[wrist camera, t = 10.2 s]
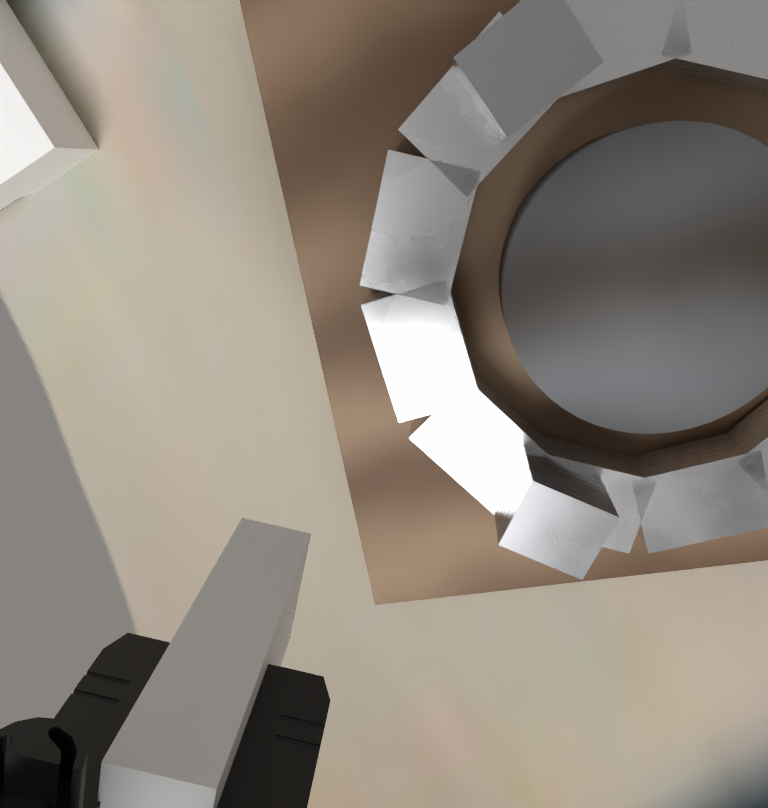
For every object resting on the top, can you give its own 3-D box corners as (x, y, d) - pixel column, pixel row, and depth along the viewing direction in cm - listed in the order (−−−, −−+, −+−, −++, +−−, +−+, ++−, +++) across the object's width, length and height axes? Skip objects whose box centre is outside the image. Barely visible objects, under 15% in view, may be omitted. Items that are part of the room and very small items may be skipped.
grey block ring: (1051, 45, 22) (1218, 10, 17) (799, 571, 28) (870, 654, 23) (445, -94, 22) (443, -165, 17) (327, 457, 28) (302, 515, 24)
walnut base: (959, 510, 29) (1046, 569, 25) (379, 579, 32) (368, 641, 28) (994, -189, 22) (1123, -274, 18) (251, -6, 25) (211, -41, 21)
